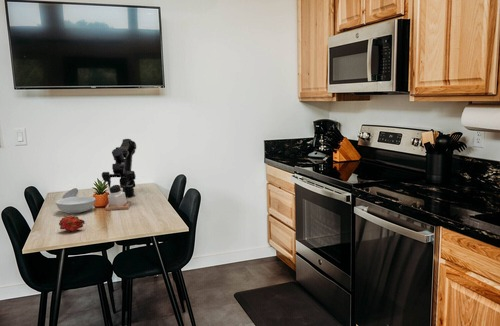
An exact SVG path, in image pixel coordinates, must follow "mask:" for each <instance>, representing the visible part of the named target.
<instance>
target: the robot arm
mask: <svg viewBox="0 0 500 326" xmlns="http://www.w3.org/2000/svg"><path fill="white" fill-rule="evenodd" d="M136 150H137V144H136V142H135V141H134V140H132V139H131V138H124V139H122V142H121V145H120V146H118V147H115V149H113V150H112V151H111V154H112V157H113V160H114V161H115V163H112V164H111V165H112V166H111V168H112V169H111V170H112V173H110V171H103V172H102V173H101V177H102V180H103V181H105V182H107V186H108V189H109V188H110V187H111V186H112V185H111V183H112V181H111V179H112V178H119V186H120V189H121V190H122V192H125V196H126V198H132V197H135V196H136V194H135V189H134V188H136V181H135V180H136V178H137V177H136V173H135V171H134V170H132V164H133V163H132V162H133V156H134V154H135V153H136Z"/></svg>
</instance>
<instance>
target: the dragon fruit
mask: <svg viewBox="0 0 500 326" xmlns="http://www.w3.org/2000/svg"><path fill="white" fill-rule="evenodd" d="M85 223H86V222H85V220H84V219H82V218H79V217H78V216H75V215H65V216H64V217H62V218H61V219H60V220H59V223H58V226H59V229H60V230H61V231H62V230H65V231H66V232H67V233H70V232H76V233H77V232H79V231H80V229H82V228H84V224H85Z"/></svg>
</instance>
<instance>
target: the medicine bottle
mask: <svg viewBox="0 0 500 326" xmlns="http://www.w3.org/2000/svg"><path fill="white" fill-rule="evenodd" d="M108 189H109V193H110V194H108V195H107V199H108V204H109V205H110V207H113V206H123V205H125V204H126V203H127V197H126V196H125V192H123V191H121V190H122V188H120V184H114V185H113V184H112V185H110V188H109V187H108Z"/></svg>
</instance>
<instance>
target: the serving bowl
mask: <svg viewBox="0 0 500 326" xmlns="http://www.w3.org/2000/svg"><path fill="white" fill-rule="evenodd" d="M55 204H56V207H57V208H58V210H60V212H62V213H66V214H81V213H84V212H87V211H90V210H91V209H92V208H93V207H94V206H95V205H96V197H94V196H89V195H79V196H78V195H76V197H68V198H64V199H62V198H60V199H58V200H56V201H55Z"/></svg>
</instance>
